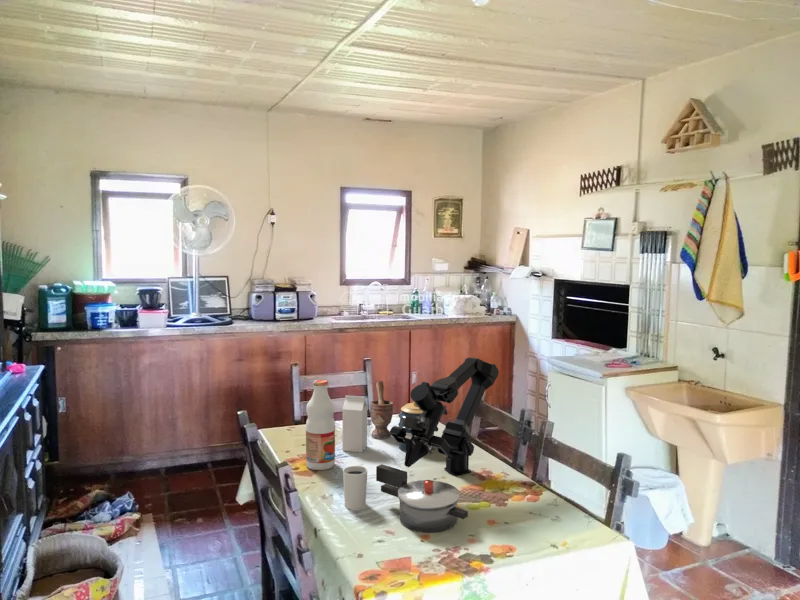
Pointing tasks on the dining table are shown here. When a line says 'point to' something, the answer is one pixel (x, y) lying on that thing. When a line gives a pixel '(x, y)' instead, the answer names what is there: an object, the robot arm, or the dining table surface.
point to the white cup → (355, 487)
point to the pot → (426, 515)
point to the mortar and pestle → (381, 414)
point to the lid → (418, 489)
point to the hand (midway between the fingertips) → (406, 466)
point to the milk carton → (354, 424)
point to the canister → (410, 411)
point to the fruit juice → (320, 429)
